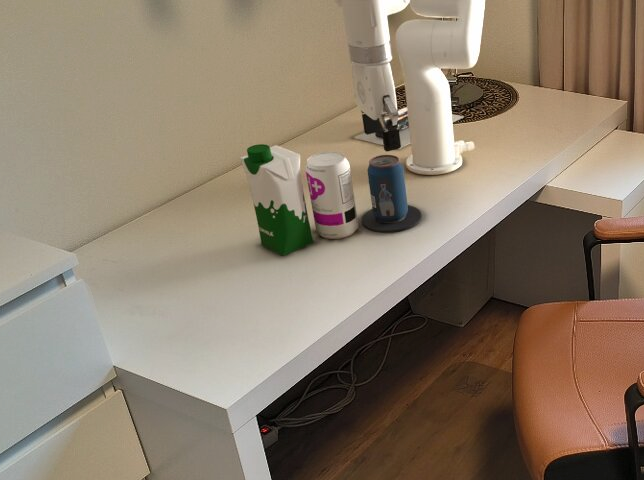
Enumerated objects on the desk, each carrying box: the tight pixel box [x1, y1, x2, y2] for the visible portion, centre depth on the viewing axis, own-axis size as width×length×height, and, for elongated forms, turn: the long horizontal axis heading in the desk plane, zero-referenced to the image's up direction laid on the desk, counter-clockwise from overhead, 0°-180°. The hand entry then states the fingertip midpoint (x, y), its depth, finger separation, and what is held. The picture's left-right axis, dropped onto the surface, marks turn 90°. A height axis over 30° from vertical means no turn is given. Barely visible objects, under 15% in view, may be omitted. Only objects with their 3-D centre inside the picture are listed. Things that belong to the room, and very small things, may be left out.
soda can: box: [366, 154, 409, 223], centre depth 178 cm, size 7×7×12 cm
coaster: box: [360, 204, 423, 234], centre depth 182 cm, size 12×12×1 cm
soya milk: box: [239, 143, 314, 257], centre depth 168 cm, size 9×9×20 cm
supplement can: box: [304, 151, 359, 240], centre depth 174 cm, size 8×8×15 cm
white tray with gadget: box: [352, 106, 465, 150], centre depth 223 cm, size 14×25×4 cm, turn 146°
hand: (382, 140), depth 174 cm, fingers open, 9 cm apart
